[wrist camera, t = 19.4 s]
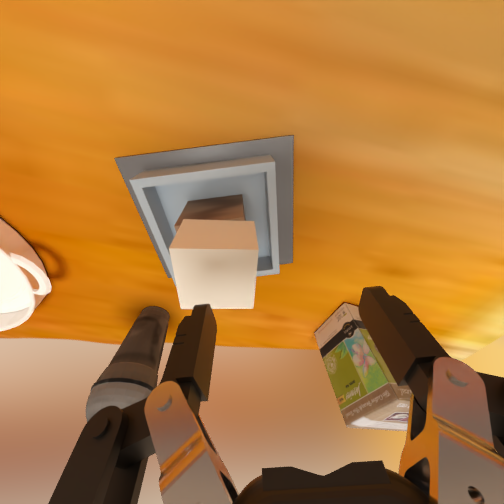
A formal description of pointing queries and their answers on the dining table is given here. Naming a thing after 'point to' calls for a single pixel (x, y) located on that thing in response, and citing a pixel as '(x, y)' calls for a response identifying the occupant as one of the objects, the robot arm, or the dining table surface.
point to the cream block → (215, 263)
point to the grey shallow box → (218, 191)
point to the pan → (19, 278)
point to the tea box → (361, 374)
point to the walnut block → (214, 209)
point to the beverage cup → (132, 364)
